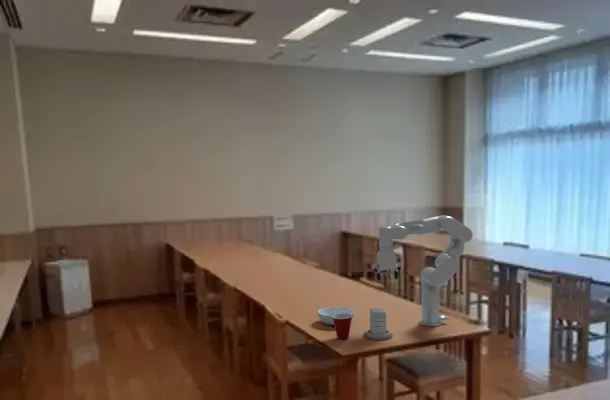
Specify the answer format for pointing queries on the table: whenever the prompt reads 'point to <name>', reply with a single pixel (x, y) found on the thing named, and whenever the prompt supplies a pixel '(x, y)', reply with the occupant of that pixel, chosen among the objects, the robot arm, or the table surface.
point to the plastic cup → (342, 325)
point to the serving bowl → (332, 313)
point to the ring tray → (378, 337)
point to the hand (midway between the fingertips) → (387, 279)
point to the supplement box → (378, 321)
